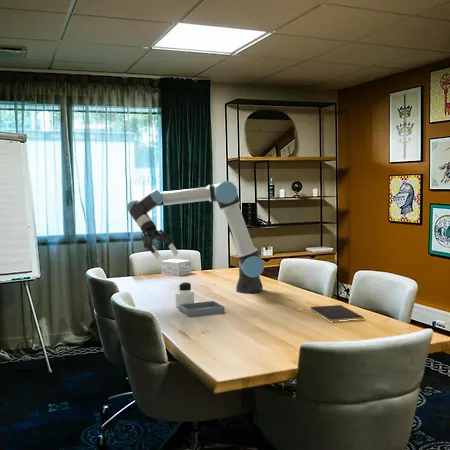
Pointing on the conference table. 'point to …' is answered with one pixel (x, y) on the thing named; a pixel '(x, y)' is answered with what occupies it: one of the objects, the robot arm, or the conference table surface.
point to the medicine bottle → (184, 294)
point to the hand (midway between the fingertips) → (167, 255)
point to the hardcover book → (336, 313)
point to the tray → (201, 308)
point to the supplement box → (176, 267)
